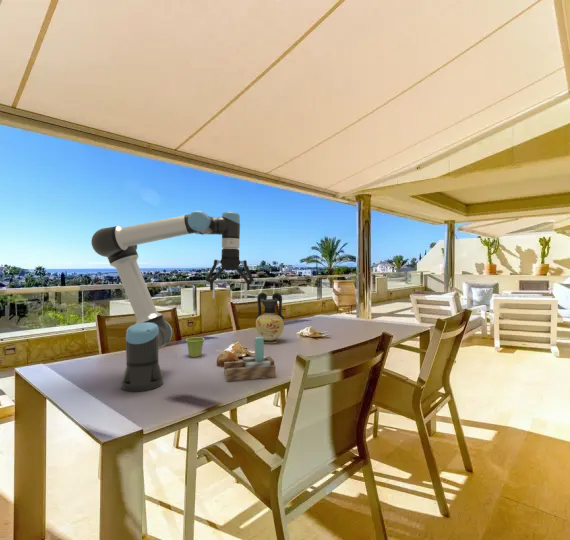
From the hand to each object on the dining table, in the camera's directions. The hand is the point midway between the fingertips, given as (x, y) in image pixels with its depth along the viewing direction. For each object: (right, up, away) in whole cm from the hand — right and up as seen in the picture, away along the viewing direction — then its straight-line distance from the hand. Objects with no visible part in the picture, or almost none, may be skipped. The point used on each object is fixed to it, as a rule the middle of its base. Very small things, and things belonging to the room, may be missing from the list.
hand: (229, 298), depth 149 cm
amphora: (+15, -32, +62) cm, 71 cm away
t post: (+13, -30, -1) cm, 33 cm away
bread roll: (-3, -33, +14) cm, 36 cm away
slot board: (+9, -32, -2) cm, 34 cm away
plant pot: (-23, -32, +30) cm, 50 cm away
